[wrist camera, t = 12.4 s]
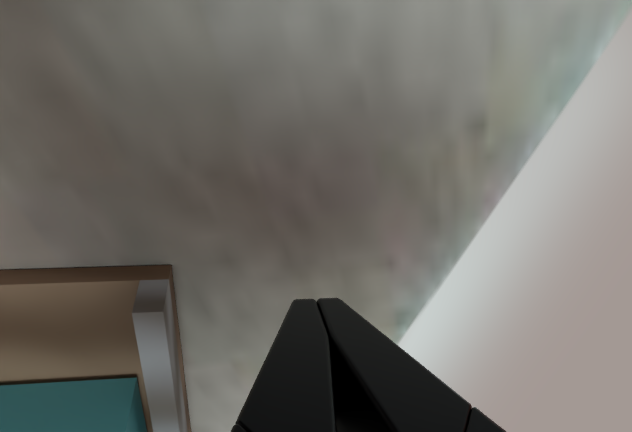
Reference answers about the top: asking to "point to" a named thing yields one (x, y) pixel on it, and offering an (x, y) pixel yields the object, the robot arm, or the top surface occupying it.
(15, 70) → the top surface
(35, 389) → the teal tall block
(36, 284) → the mount
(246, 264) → the top surface
